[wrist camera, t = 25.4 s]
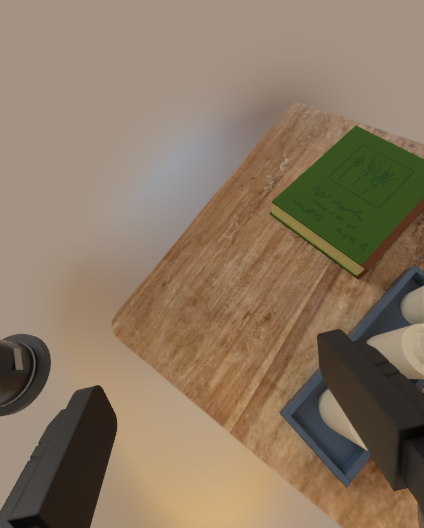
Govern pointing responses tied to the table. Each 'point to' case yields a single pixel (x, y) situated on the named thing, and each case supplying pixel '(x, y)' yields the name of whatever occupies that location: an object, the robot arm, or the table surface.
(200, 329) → the table surface
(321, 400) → the bottle
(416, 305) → the row bottle
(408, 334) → the row bottle
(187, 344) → the table surface
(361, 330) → the tray
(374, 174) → the hardcover book
